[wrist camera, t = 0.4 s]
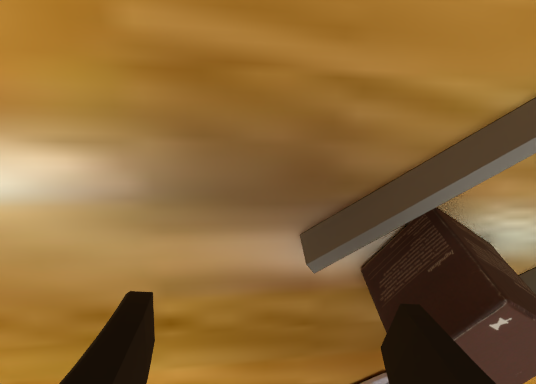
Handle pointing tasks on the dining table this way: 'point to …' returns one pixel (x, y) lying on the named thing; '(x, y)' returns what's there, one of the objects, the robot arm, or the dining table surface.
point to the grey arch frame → (425, 189)
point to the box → (459, 293)
